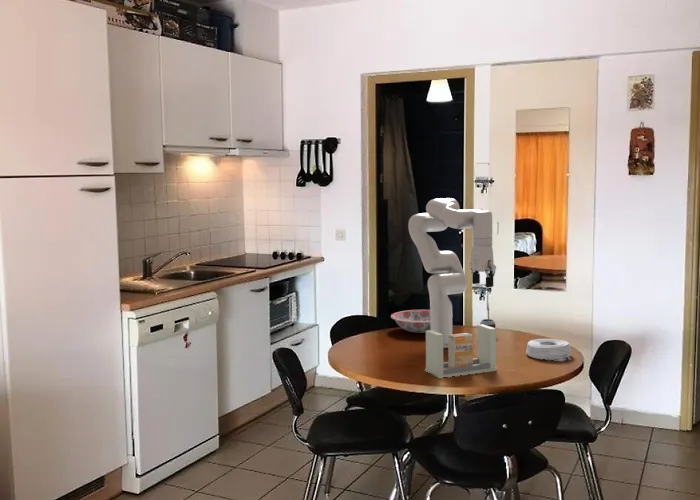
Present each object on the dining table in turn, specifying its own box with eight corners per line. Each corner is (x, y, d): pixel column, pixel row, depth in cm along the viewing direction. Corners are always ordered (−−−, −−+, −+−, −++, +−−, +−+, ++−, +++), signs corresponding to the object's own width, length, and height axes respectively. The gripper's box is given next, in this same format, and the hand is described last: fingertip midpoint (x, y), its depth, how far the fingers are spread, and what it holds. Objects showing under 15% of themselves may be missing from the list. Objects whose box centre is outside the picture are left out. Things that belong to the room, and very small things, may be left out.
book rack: (424, 371, 275) (424, 330, 274) (481, 363, 285) (481, 323, 283) (439, 378, 265) (438, 335, 263) (497, 370, 274) (497, 329, 273)
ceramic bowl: (387, 326, 358) (387, 310, 357) (446, 324, 360) (446, 308, 359) (394, 339, 329) (394, 322, 329) (458, 337, 331) (458, 320, 330)
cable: (572, 362, 285) (572, 347, 284) (526, 361, 288) (527, 346, 288) (568, 351, 302) (568, 337, 301) (525, 350, 305) (525, 336, 305)
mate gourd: (486, 340, 325) (486, 307, 324) (475, 336, 332) (475, 304, 330) (499, 337, 329) (499, 305, 327) (487, 334, 336) (487, 302, 334)
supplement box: (454, 371, 271) (454, 336, 270) (448, 368, 276) (447, 334, 274) (473, 368, 274) (473, 334, 273) (466, 365, 279) (466, 332, 277)
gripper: (462, 241, 292) (463, 283, 293) (486, 244, 276) (486, 289, 278) (478, 240, 295) (479, 281, 296) (503, 243, 279) (503, 287, 280)
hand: (482, 285), depth 287 cm, fingers open, 9 cm apart
